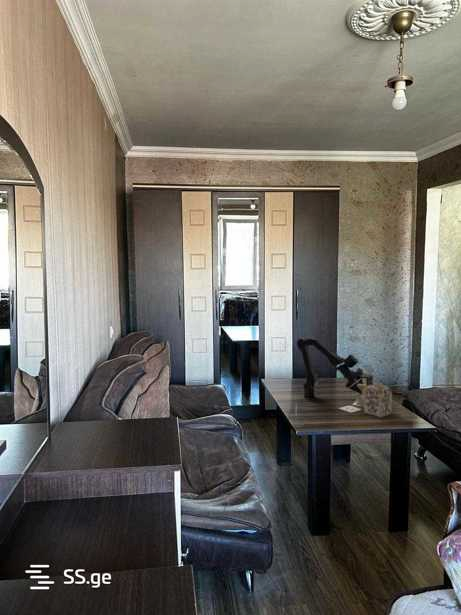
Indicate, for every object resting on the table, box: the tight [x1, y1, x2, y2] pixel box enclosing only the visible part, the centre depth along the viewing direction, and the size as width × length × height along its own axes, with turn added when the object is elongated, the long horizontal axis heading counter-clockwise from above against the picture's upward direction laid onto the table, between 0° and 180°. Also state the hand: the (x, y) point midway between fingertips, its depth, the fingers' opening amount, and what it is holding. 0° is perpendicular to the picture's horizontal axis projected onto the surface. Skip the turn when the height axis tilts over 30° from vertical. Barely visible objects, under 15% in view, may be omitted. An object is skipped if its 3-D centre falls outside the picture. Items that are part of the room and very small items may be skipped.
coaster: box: [351, 401, 364, 408], centre depth 284 cm, size 9×9×1 cm
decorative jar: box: [363, 381, 393, 418], centre depth 265 cm, size 12×12×18 cm
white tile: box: [338, 405, 363, 413], centre depth 273 cm, size 10×10×1 cm
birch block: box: [355, 384, 367, 405], centre depth 283 cm, size 5×5×12 cm
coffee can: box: [361, 373, 374, 386], centre depth 303 cm, size 10×10×14 cm
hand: (363, 391), depth 282 cm, fingers open, 9 cm apart
